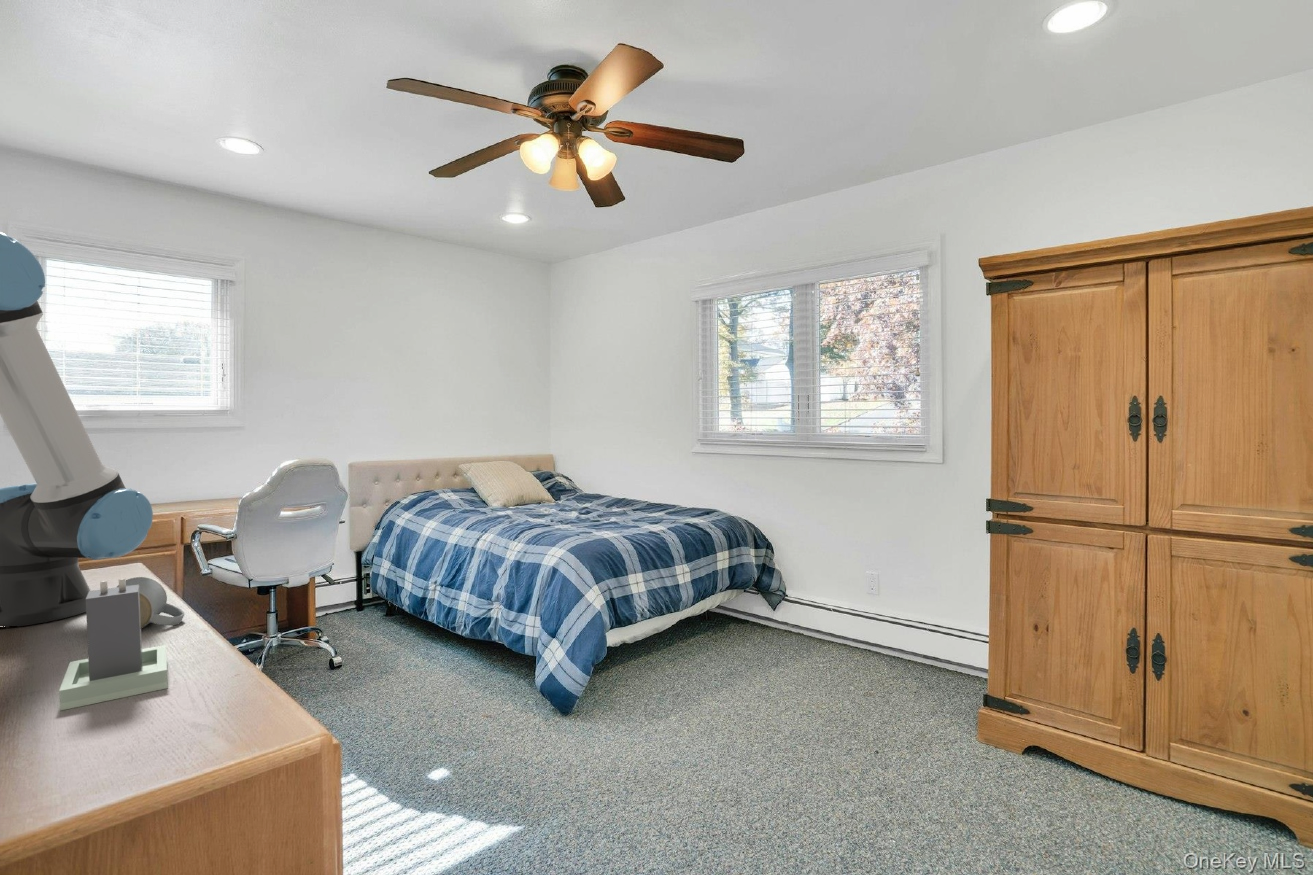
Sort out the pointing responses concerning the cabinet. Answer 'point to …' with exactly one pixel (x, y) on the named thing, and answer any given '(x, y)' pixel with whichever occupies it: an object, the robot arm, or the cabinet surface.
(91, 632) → the charger brick
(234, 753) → the cabinet surface
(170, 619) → the ceramic mug
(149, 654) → the shallow pale green tray
